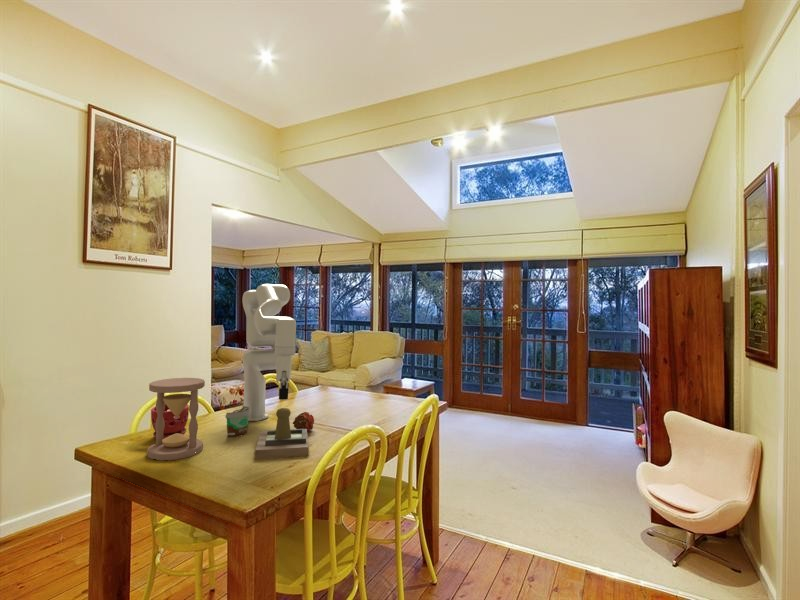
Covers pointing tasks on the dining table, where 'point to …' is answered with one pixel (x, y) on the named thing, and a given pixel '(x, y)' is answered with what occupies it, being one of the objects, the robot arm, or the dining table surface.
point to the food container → (237, 422)
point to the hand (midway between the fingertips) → (283, 396)
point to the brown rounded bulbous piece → (283, 424)
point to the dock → (282, 444)
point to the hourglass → (176, 443)
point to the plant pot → (171, 421)
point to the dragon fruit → (304, 421)
